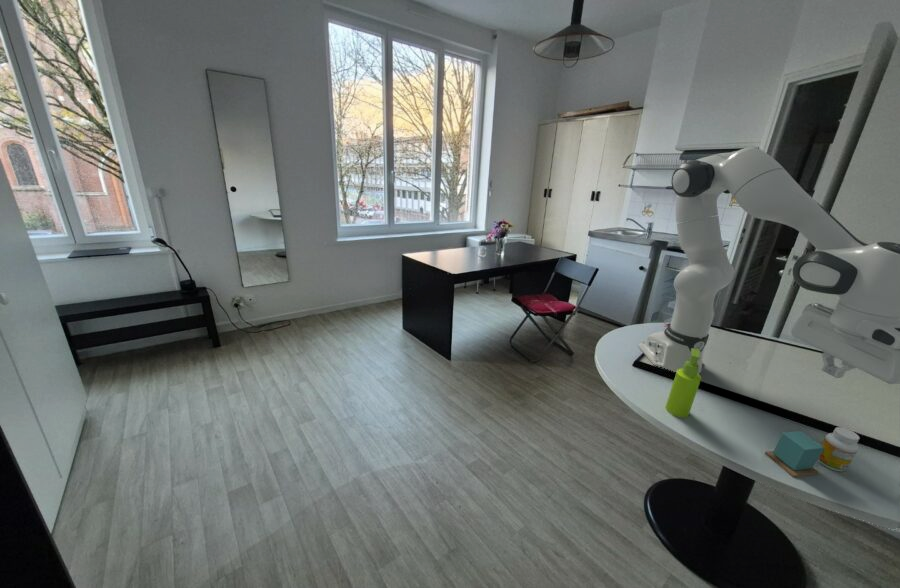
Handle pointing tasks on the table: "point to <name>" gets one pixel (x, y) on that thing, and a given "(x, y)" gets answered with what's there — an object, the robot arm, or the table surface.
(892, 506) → the table surface
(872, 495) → the table surface
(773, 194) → the robot arm
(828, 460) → the supplement bottle
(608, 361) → the table surface
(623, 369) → the table surface
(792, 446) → the teal rectangular block
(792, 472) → the wooden block stand
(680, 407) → the soap dispenser
